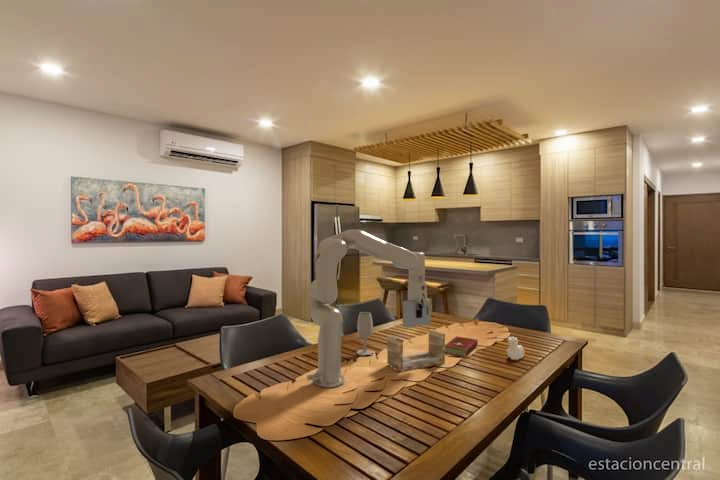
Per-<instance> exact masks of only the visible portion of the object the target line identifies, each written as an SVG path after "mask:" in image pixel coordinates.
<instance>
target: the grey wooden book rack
mask: <svg viewBox="0 0 720 480" xmlns="http://www.w3.org/2000/svg"><path fill="white" fill-rule="evenodd" d="M445 344H446V334H445V333H444V332H441V331H439V330H435V329H434V328H429V329H428V351H425V352H419V353H415V354H409V355H404V340H403V339H401V338H398V337H396V336H395V335H393V334H389V335H387V364H389V365H390V366H392V367H393V368H395V369H396V370H395V369H394V370H395V371H397V370H398V371H401V372H406V371H411V370H415V369H414V368H416V369H420V367H421V368H425V366H426V367H430V365H431V366H435V365H440V364H441V365H442V364H445V363H446V357H445V356H446V353H445ZM389 365H388V366H389ZM390 366H389V367H390ZM392 367H391V368H392ZM393 368H392V369H393ZM410 369H411V370H410ZM405 370H406V371H405ZM398 371H397V372H398Z"/></svg>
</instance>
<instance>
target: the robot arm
mask: <svg viewBox="0 0 720 480" xmlns="http://www.w3.org/2000/svg"><path fill="white" fill-rule="evenodd" d="M349 249H355V250H357V251H359V252H362V253H364V254H366V255H369V256H371V257H373V258H375V259H378V260H382V261H387V262H391V263H392V265H393V266H394V267H395V268H398V269H403V270H408V284H407V301H408V300H413V301H415V302H416V303H417V309H416V318H422V309H423V307H424V306H425V305H426V302H427V299H428V289H427V282H426V256H425V253H424V252H419V251H410V250H409V249H406V248H404V247H401V246H398V245H395V244H393V243H391V242H388V241H385V240H384V239H380V238H379V237H377V236H374V235H373V234H370V233H368V232H366V231H365V230H361V229H347V230H344V231H342V232H340V233H337V234H334V235H331V236H328V237H327V238H324V239H323V240H321V241H320V242H319V245H318V252H319V254H320V255H319V256H318V258H317V260H316V264H315V279H314V280H313V281H312V282H311V283H310V284H309V287H308V294H307V295H308V303H309V313H310V318H311V320H312V321H313V323H314V324H316V325H317V326H319V331H318V338H317V370H315V372H314V373H313V374H307V375H306V379H307V381H310V380H311V381H312V382H314V384H315V385H316V386H318V387H320V388H321V387H322V388H335V387H336V386H337V387H339V385H340V386H342V385H343V384H344V383H345V377H344V376H343V375H342V348H341V347H342V343H341V342H342V328H343V321H344V320H343V315H342V313H341V311H340V310H339V309H338V308H336V307H334V306H332V305H331V304H333V303H335V302H336V301H337V299H338V292H339V291H338V282H337V266H338V264H339V262H340V261H341V260H342V258H344V257H346V254H347V251H348V250H349ZM419 304H420V305H419ZM341 384H342V385H341Z"/></svg>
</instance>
